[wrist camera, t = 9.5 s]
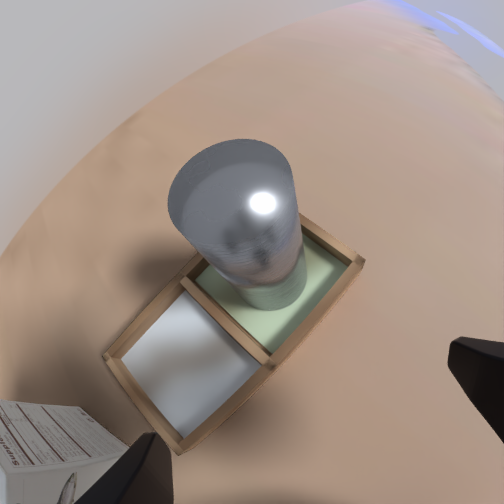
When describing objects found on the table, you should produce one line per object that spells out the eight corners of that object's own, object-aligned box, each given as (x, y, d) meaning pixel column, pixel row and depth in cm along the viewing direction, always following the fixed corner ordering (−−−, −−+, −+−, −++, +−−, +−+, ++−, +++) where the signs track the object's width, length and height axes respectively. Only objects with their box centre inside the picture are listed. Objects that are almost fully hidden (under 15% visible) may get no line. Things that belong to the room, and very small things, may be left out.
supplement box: (118, 507, 14) (8, 542, 3) (63, 458, 17) (-44, 460, 5) (140, 452, 16) (6, 477, 5) (79, 402, 19) (-43, 386, 8)
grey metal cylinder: (320, 261, 19) (315, 158, 10) (283, 324, 18) (244, 268, 9) (260, 232, 21) (215, 129, 12) (223, 289, 19) (145, 213, 11)
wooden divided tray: (360, 273, 19) (365, 259, 17) (193, 448, 16) (178, 455, 14) (267, 206, 23) (262, 188, 21) (121, 359, 20) (102, 356, 18)
